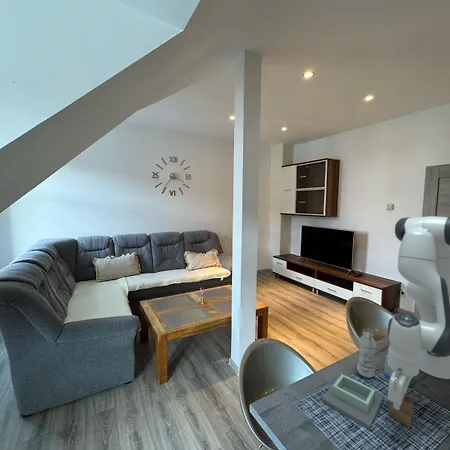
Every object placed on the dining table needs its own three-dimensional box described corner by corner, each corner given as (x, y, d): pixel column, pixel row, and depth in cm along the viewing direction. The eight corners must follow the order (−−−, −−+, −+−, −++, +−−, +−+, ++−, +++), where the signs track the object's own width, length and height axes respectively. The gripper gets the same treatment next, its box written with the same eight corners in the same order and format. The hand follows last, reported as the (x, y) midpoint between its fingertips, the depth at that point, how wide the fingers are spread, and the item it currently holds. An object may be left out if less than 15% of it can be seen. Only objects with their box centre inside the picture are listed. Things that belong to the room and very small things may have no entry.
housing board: (340, 377, 105) (341, 366, 104) (384, 398, 94) (384, 386, 93) (322, 401, 93) (322, 389, 92) (369, 430, 81) (370, 416, 81)
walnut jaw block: (391, 408, 89) (392, 388, 88) (411, 418, 85) (413, 397, 84) (388, 415, 87) (390, 394, 86) (409, 426, 82) (411, 404, 81)
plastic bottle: (358, 367, 111) (360, 325, 109) (375, 374, 107) (378, 330, 104) (355, 375, 106) (357, 331, 104) (373, 382, 102) (375, 337, 99)
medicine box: (383, 374, 106) (384, 356, 105) (390, 372, 108) (392, 353, 107) (402, 387, 99) (403, 367, 98) (409, 384, 100) (411, 365, 99)
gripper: (407, 383, 74) (404, 424, 76) (419, 354, 88) (416, 389, 90) (383, 372, 79) (380, 412, 80) (398, 346, 93) (396, 380, 94)
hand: (399, 399), depth 85 cm, fingers open, 8 cm apart
